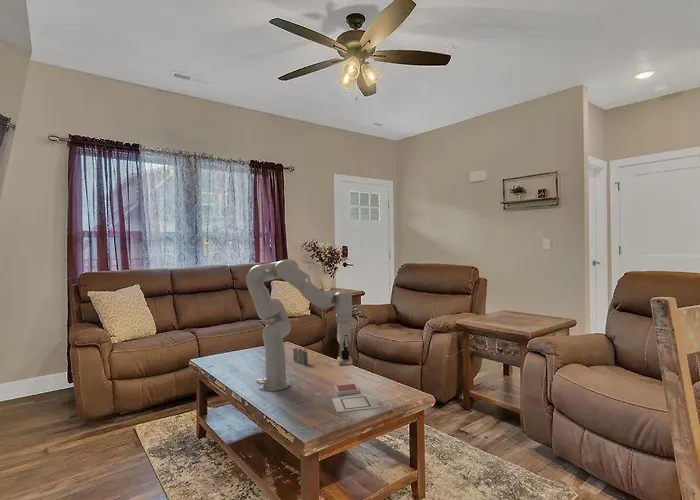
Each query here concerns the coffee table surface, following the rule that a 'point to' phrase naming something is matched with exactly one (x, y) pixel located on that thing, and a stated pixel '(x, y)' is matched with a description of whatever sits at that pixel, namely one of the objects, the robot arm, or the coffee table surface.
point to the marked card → (355, 403)
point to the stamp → (344, 361)
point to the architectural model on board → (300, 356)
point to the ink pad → (346, 389)
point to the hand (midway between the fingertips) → (344, 357)
